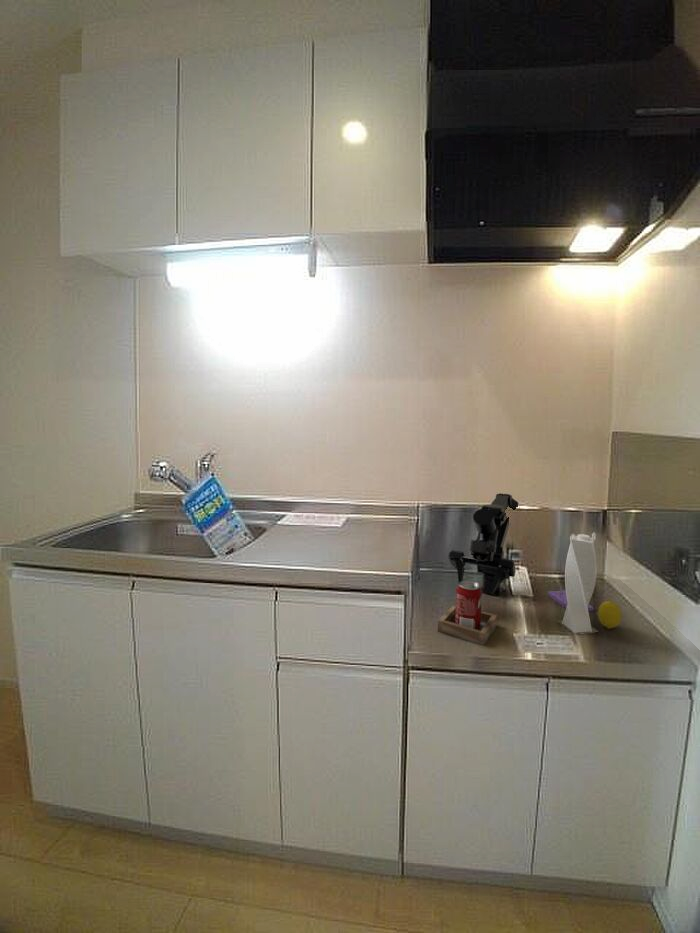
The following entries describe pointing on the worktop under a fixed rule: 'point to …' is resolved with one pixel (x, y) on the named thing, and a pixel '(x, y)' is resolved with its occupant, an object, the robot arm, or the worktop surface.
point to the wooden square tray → (474, 635)
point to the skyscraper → (579, 583)
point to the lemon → (609, 614)
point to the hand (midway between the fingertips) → (475, 589)
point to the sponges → (562, 598)
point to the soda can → (468, 604)
